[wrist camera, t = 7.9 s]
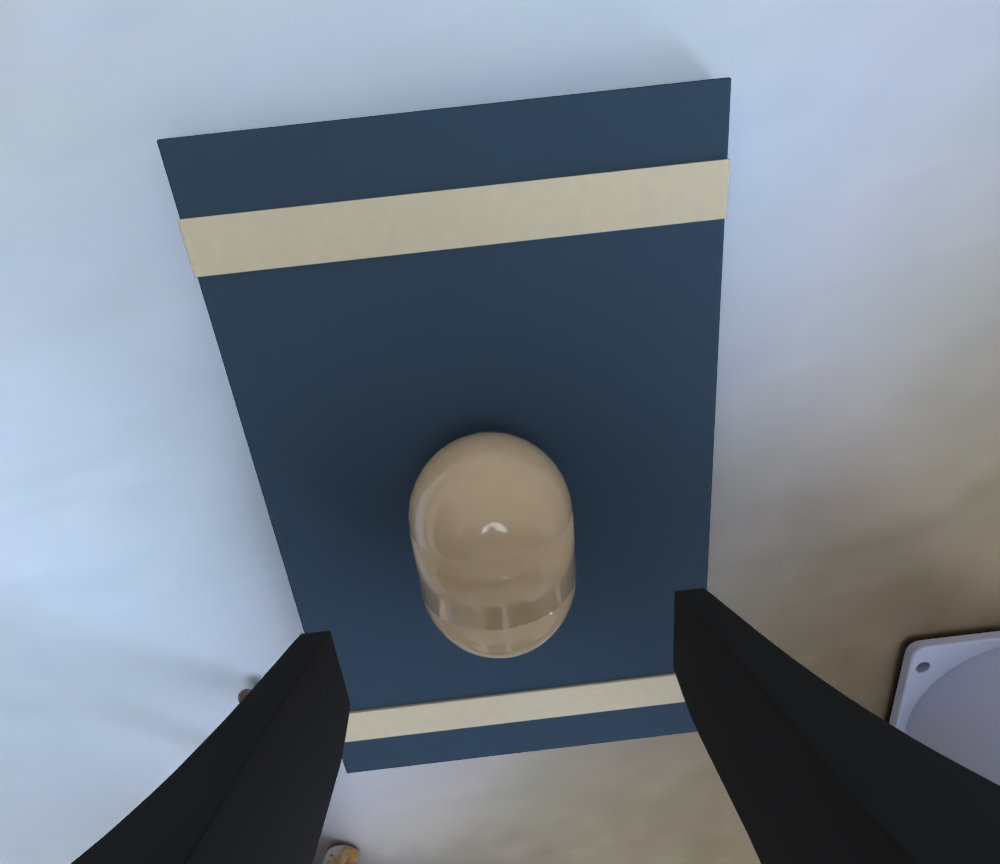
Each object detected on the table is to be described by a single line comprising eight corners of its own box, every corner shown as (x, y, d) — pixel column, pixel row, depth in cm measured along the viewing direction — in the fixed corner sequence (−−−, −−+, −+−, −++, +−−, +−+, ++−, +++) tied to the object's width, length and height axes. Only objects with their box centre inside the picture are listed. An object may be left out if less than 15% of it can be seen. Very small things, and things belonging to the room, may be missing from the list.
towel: (694, 718, 21) (701, 733, 20) (349, 759, 21) (345, 776, 20) (721, 83, 13) (734, 75, 12) (169, 143, 13) (152, 138, 12)
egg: (566, 581, 18) (595, 686, 13) (437, 596, 18) (427, 706, 13) (554, 401, 15) (583, 463, 11) (405, 419, 15) (380, 486, 11)
